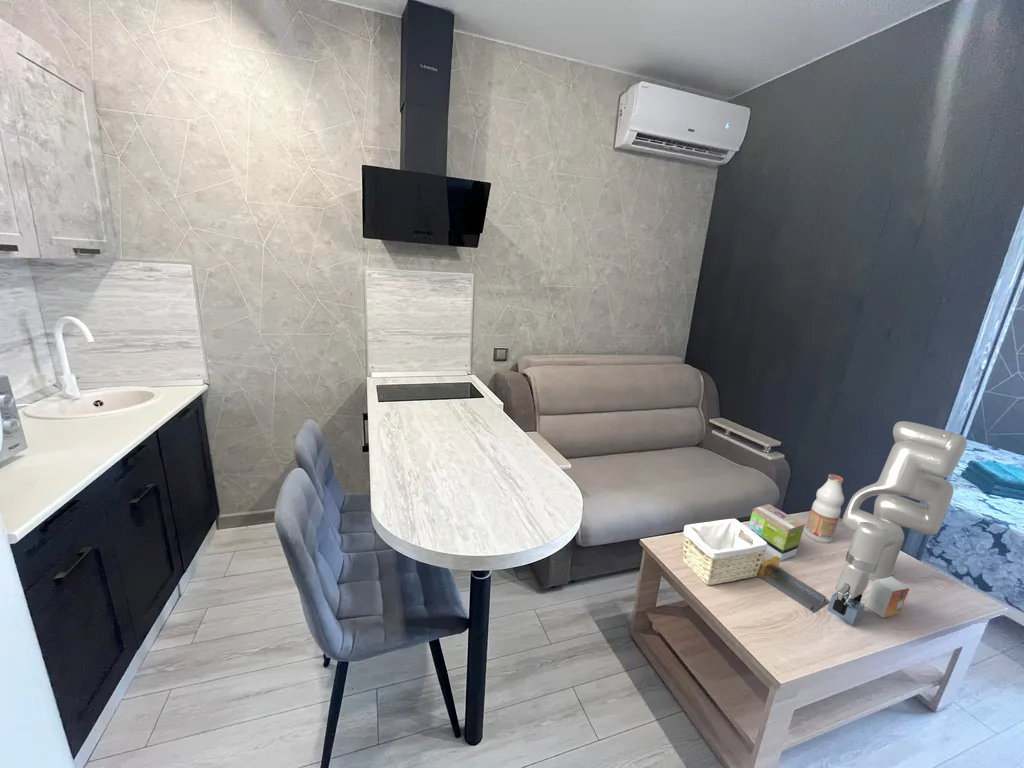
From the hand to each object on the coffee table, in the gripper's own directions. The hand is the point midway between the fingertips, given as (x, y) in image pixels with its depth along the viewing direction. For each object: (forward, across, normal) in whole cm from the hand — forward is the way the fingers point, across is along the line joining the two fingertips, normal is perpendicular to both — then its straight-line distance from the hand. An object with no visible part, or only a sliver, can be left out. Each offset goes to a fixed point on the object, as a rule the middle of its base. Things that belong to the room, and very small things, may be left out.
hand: (845, 606), depth 134 cm
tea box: (+3, -14, -31) cm, 34 cm away
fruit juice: (+3, -41, -26) cm, 48 cm away
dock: (+4, +2, -14) cm, 15 cm away
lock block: (+4, -1, 0) cm, 4 cm away
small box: (+3, -16, +5) cm, 17 cm away
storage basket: (+4, +17, -33) cm, 37 cm away
